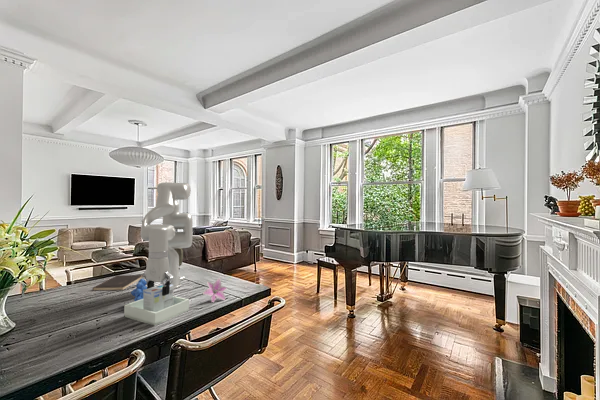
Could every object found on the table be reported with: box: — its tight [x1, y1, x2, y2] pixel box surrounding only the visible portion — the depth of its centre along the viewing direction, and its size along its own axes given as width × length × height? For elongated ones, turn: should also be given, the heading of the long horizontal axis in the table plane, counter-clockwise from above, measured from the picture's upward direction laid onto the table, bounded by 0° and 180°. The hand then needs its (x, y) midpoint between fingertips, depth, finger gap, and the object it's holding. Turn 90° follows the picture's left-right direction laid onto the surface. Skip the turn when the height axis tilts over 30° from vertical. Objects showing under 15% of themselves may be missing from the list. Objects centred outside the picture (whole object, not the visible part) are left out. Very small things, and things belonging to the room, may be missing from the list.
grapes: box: [130, 278, 147, 302], centre depth 131 cm, size 12×7×12 cm, turn 14°
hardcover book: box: [92, 274, 144, 291], centre depth 162 cm, size 16×23×2 cm
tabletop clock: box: [174, 248, 184, 271], centre depth 189 cm, size 14×9×25 cm, turn 123°
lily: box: [202, 277, 228, 303], centre depth 139 cm, size 12×12×10 cm
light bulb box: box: [143, 283, 175, 312], centre depth 121 cm, size 11×7×11 cm, turn 156°
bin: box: [123, 296, 190, 327], centre depth 121 cm, size 17×19×5 cm
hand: (158, 292), depth 121 cm, fingers open, 9 cm apart
